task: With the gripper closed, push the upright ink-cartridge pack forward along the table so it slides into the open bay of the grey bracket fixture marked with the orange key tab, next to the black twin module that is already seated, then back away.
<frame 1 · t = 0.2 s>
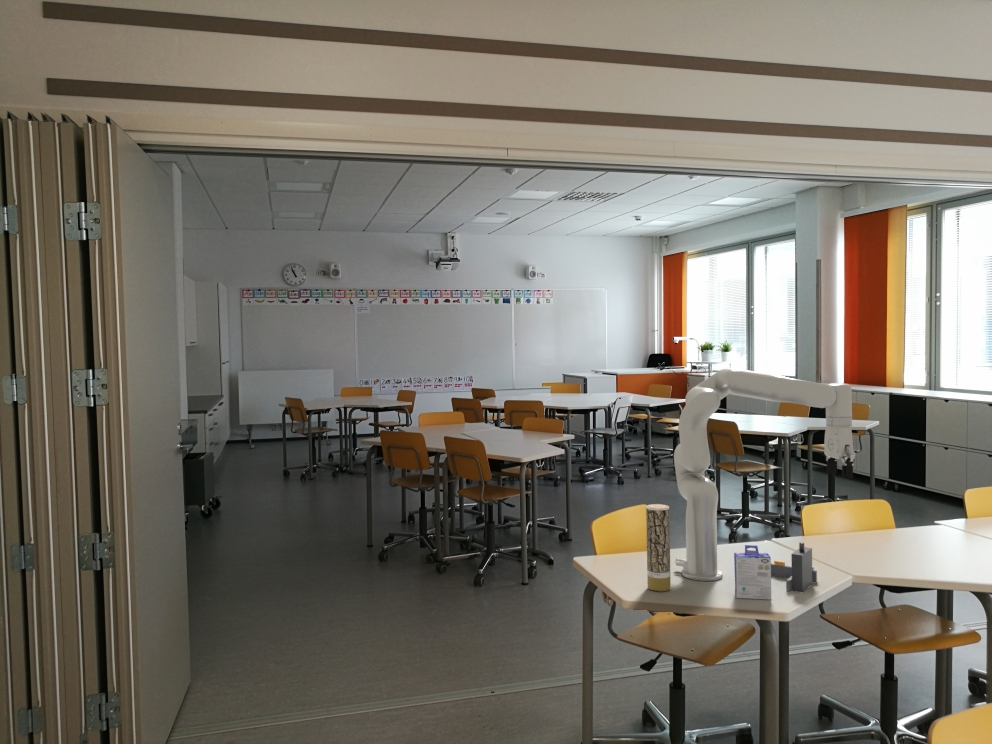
hand: (839, 475, 228), 31 cm above the table, tool pointing down, fingers open, 9 cm apart
ink cartridge box: (752, 597, 207), on the table
grey bracket fixture: (771, 582, 220), on the table
paper tube: (659, 589, 216), on the table
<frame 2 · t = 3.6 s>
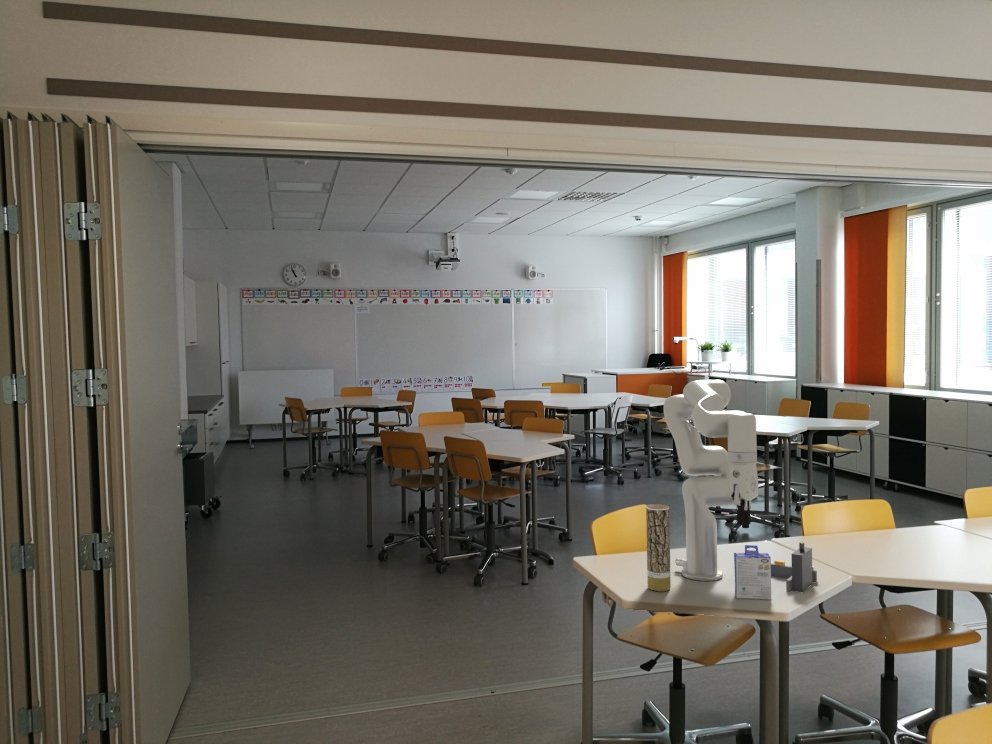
hand: (743, 524, 197), 23 cm above the table, tool pointing down, fingers closed
nothing on the table moved.
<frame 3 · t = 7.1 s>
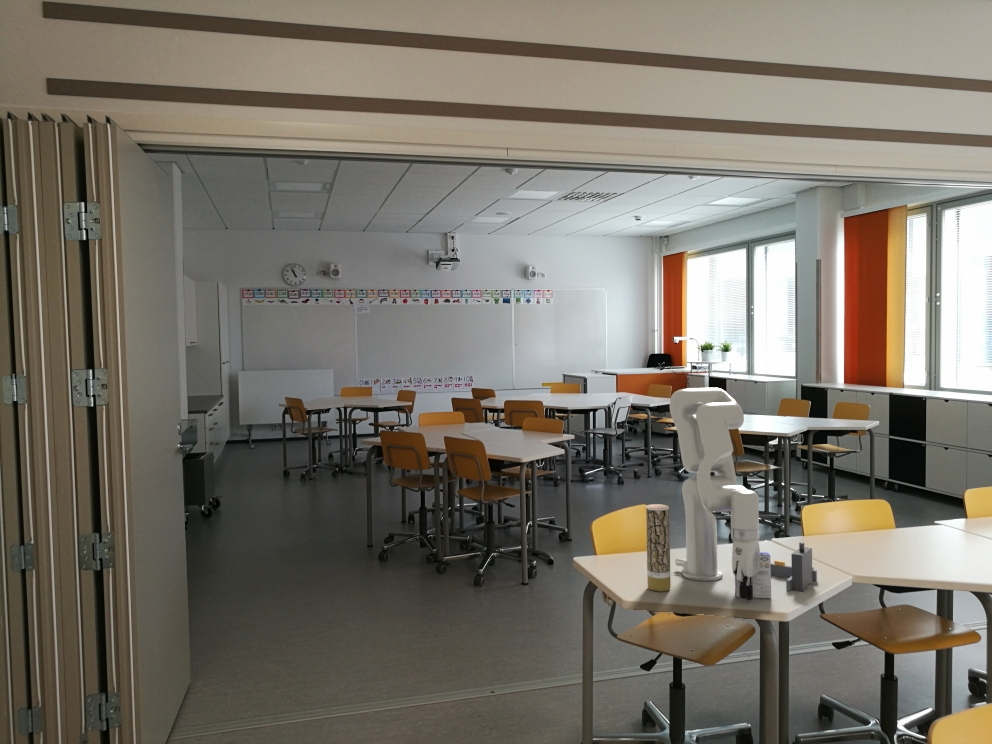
hand: (746, 598, 203), 1 cm above the table, tool pointing down, fingers closed
ink cartridge box: (753, 596, 207), on the table, touching gripper
everything else where it was.
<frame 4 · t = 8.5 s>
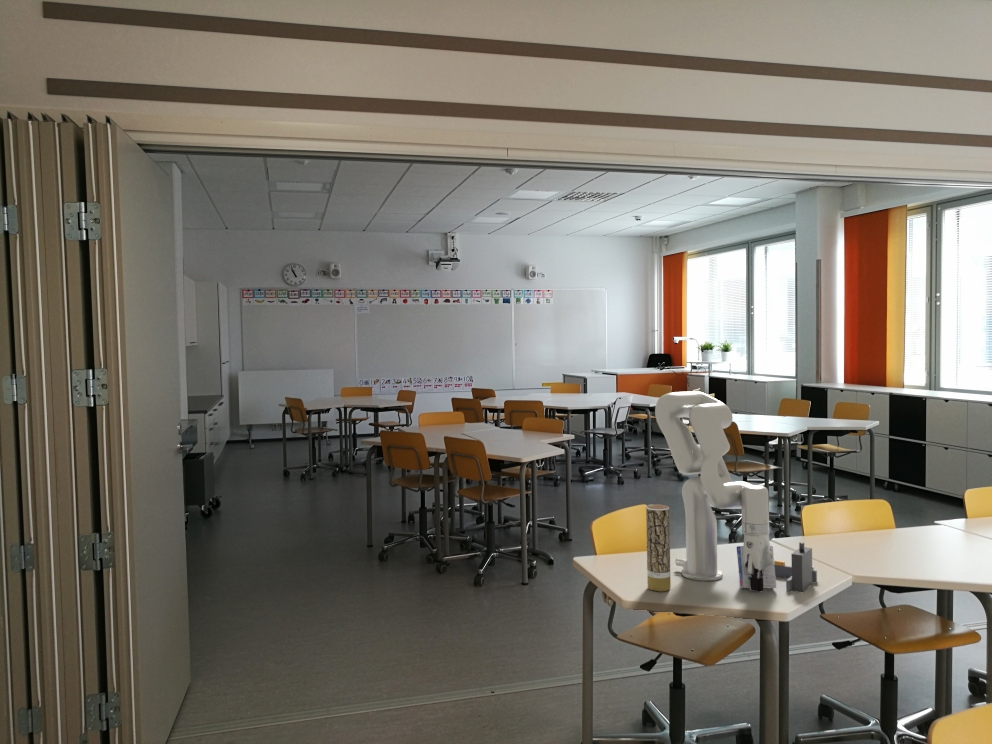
hand: (757, 590, 209), 1 cm above the table, tool pointing down, fingers closed
ink cartridge box: (758, 588, 213), on the table, touching gripper
everything else where it was.
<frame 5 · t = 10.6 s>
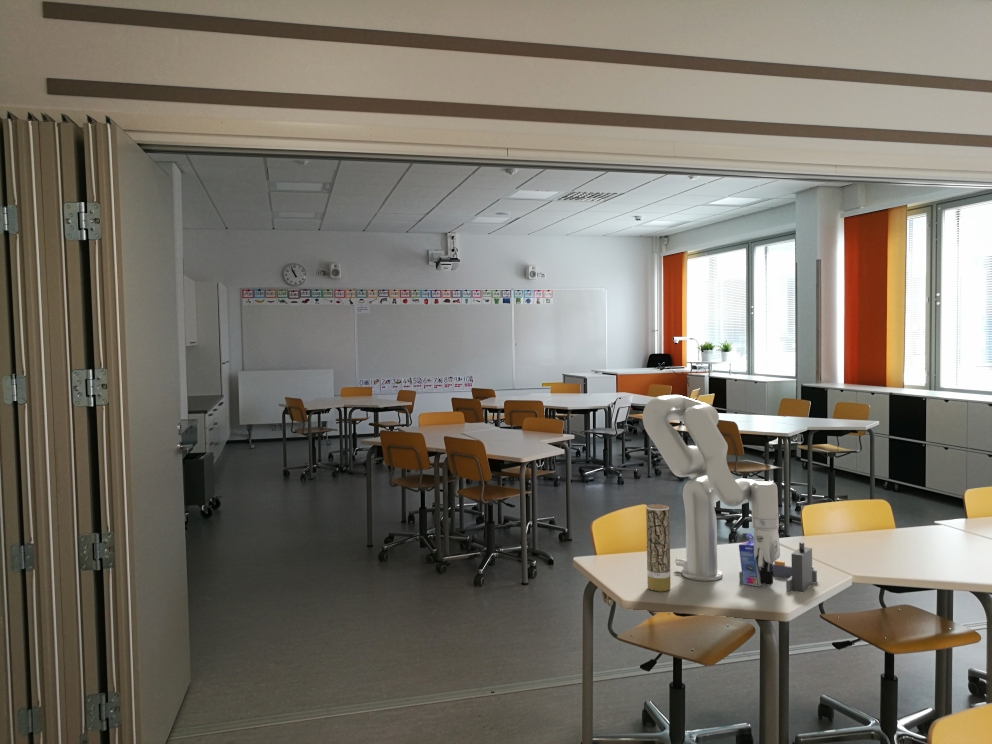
hand: (767, 583, 215), 1 cm above the table, tool pointing down, fingers closed
ink cartridge box: (757, 582, 220), on the table, touching gripper, grey bracket fixture
everything else where it was.
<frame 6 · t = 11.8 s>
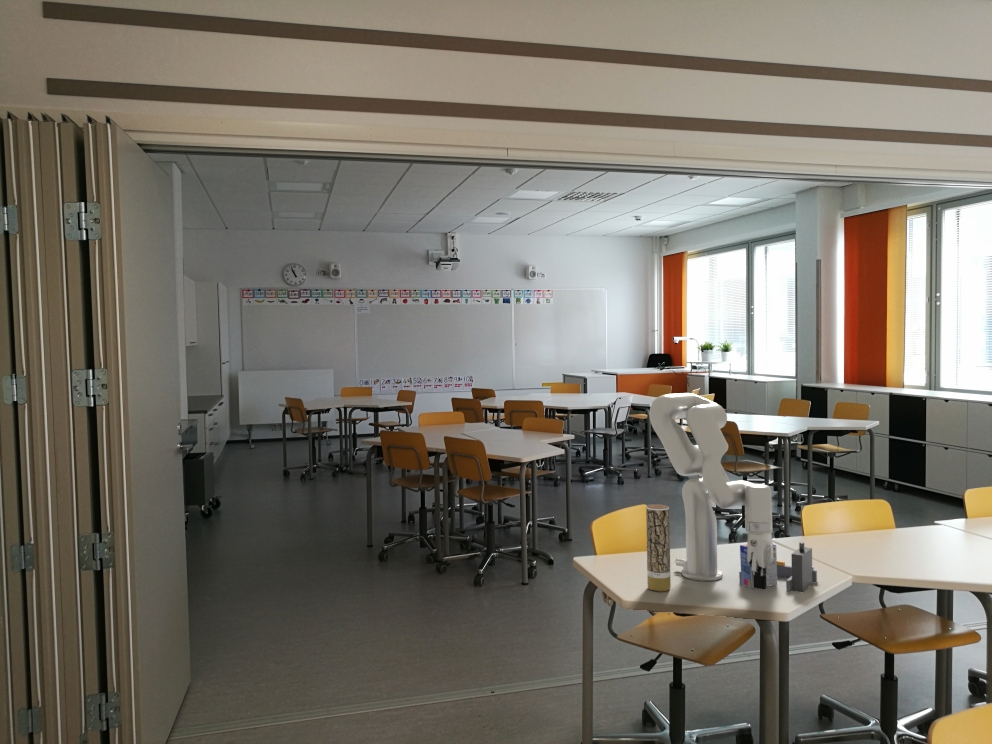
hand: (760, 588, 211), 1 cm above the table, tool pointing down, fingers closed
ink cartridge box: (758, 585, 218), on the table, touching grey bracket fixture
everything else where it was.
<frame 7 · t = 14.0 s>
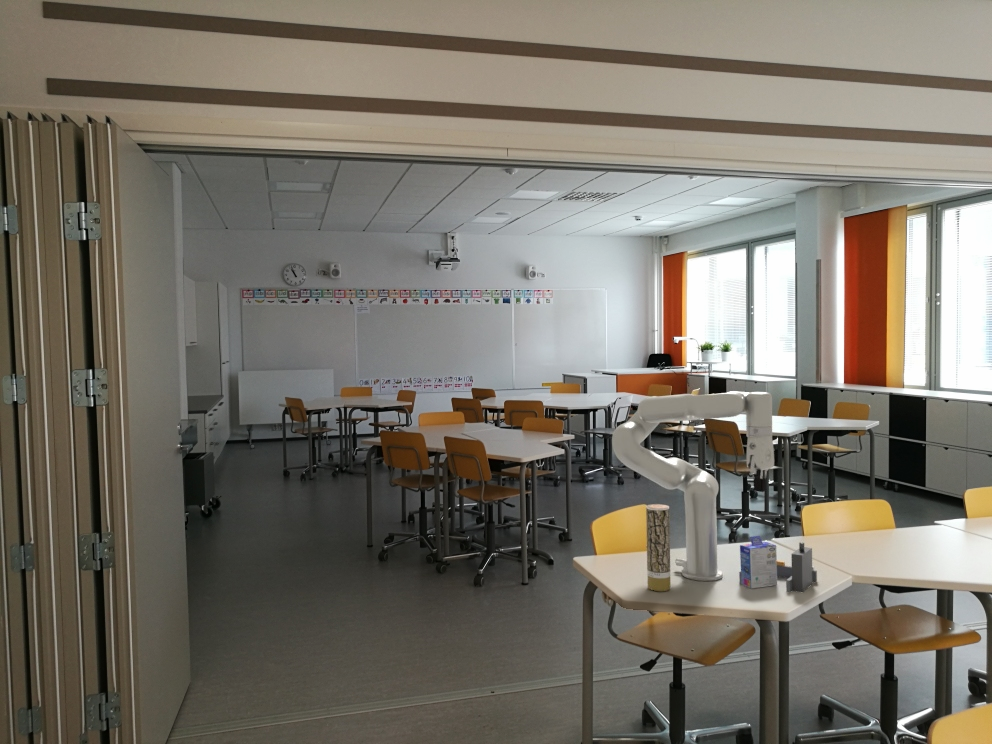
hand: (759, 490, 221), 28 cm above the table, tool pointing down, fingers closed
nothing on the table moved.
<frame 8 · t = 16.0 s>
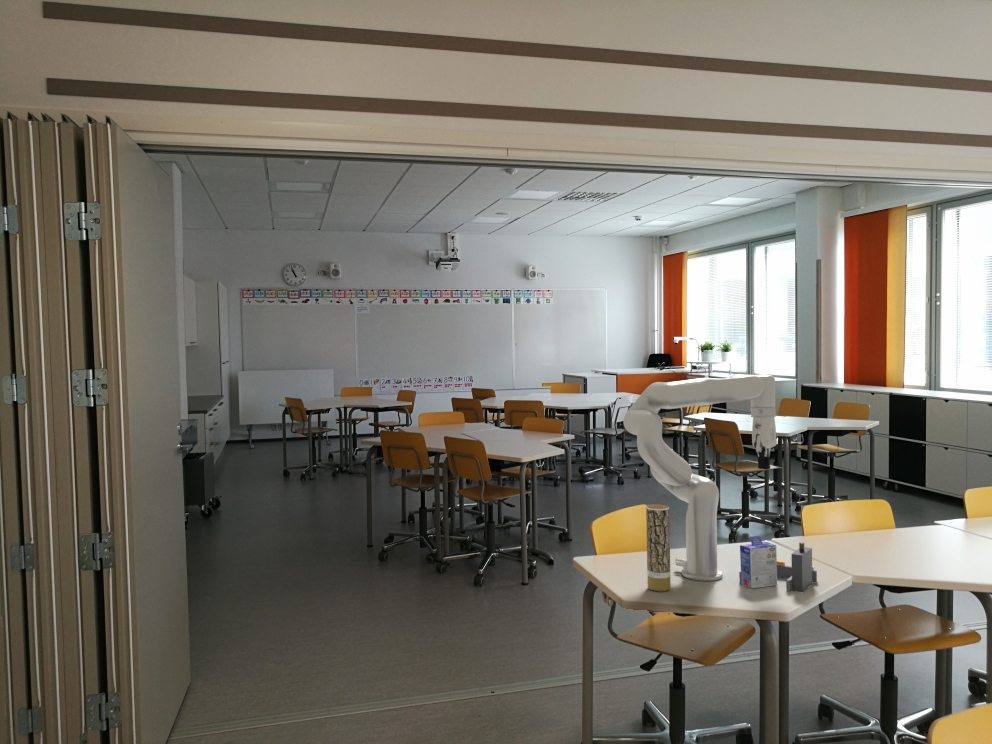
hand: (763, 468, 233), 33 cm above the table, tool pointing down, fingers closed
nothing on the table moved.
at the end: ink cartridge box inside the target area on the grey bracket fixture (5.4 cm from its centre), point 0.0 cm above the grey bracket fixture's base; ink cartridge box tilted 1°; ink cartridge box moved 11.8 cm from its start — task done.
